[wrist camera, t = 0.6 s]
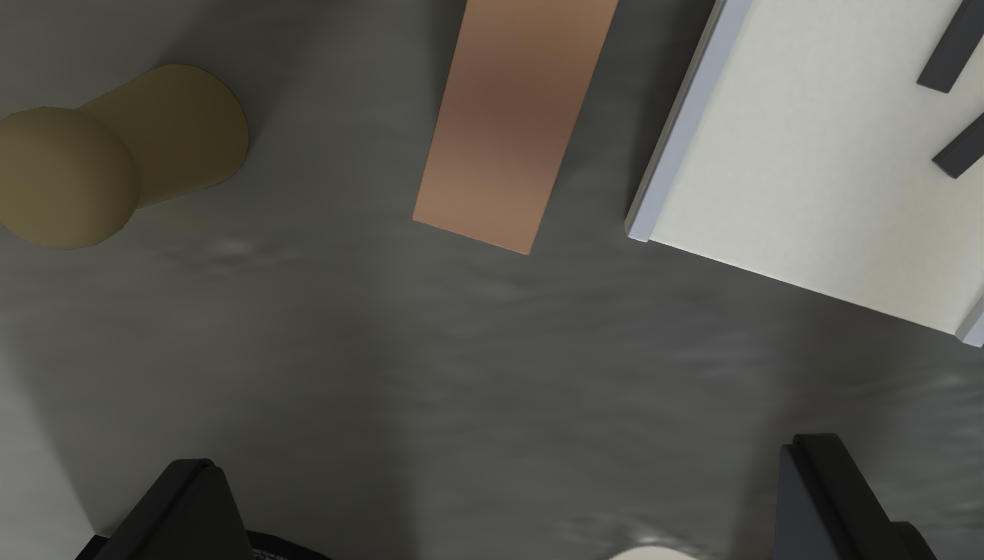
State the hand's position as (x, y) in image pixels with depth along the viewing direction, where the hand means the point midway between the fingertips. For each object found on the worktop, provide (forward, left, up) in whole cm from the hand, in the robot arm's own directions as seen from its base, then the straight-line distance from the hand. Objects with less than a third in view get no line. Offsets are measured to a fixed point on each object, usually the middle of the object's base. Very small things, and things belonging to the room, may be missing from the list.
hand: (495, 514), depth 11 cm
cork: (+4, -17, -23) cm, 29 cm away
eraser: (-3, -2, -23) cm, 23 cm away
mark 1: (-10, +15, -22) cm, 28 cm away
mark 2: (-7, +18, -22) cm, 29 cm away
